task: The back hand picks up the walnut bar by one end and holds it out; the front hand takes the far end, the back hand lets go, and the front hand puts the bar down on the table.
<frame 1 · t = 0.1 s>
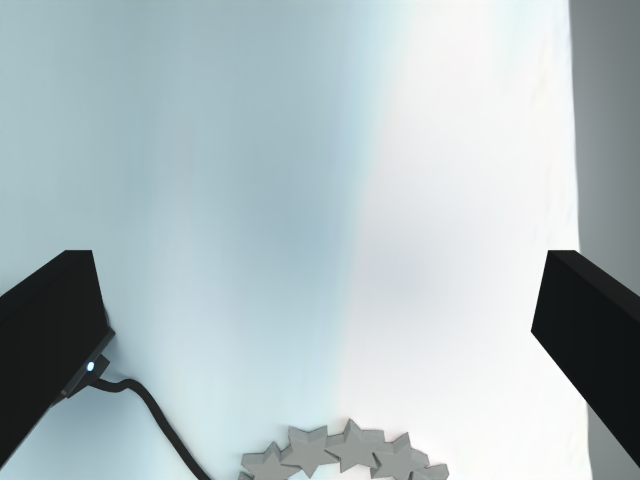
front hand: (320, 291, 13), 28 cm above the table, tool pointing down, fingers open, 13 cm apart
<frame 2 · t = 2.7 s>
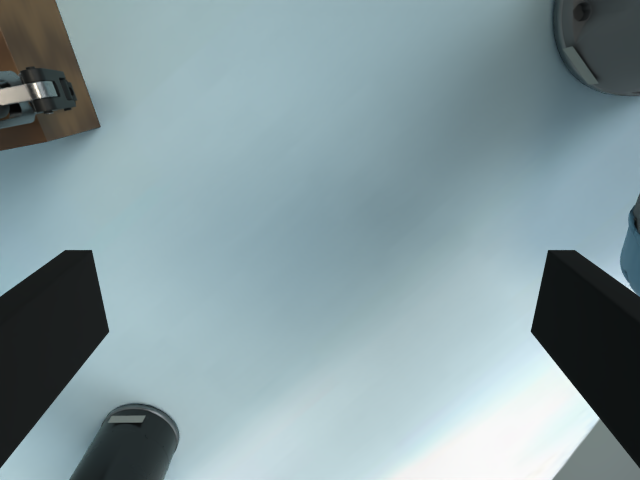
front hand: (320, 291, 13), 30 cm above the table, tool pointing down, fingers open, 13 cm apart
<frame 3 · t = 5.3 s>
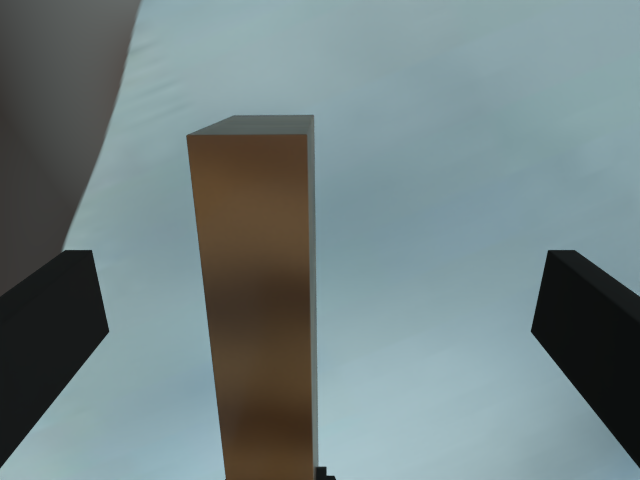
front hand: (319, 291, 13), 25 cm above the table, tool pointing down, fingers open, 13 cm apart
bar: (282, 316, 29), point 11 cm above the table, touching back hand
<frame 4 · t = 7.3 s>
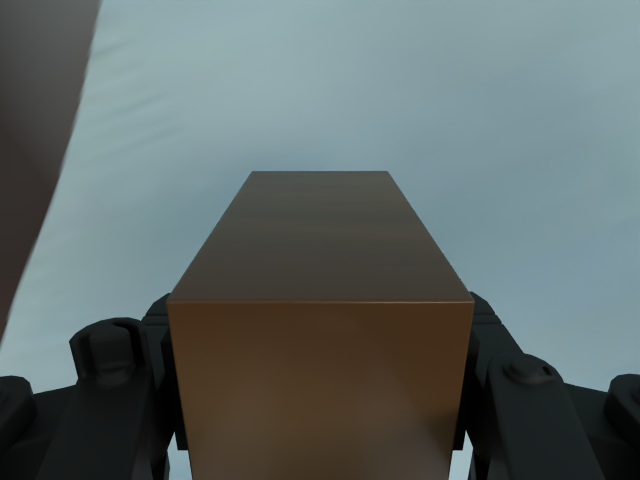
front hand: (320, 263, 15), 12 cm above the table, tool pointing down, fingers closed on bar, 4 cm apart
bar: (320, 460, 19), point 11 cm above the table, touching front hand, back hand
when the back hand's fingers open (15 cm above the table, at t = 8.1 s): bar stays where it is, held by the front hand.
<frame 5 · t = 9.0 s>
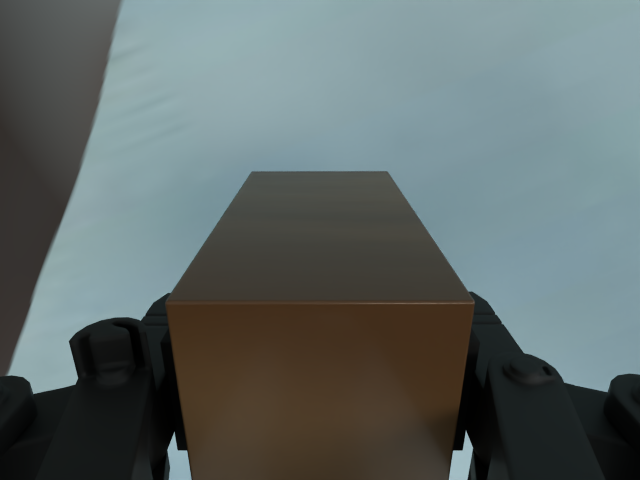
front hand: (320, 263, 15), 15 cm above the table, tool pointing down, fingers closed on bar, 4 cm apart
bar: (319, 460, 19), point 14 cm above the table, touching front hand
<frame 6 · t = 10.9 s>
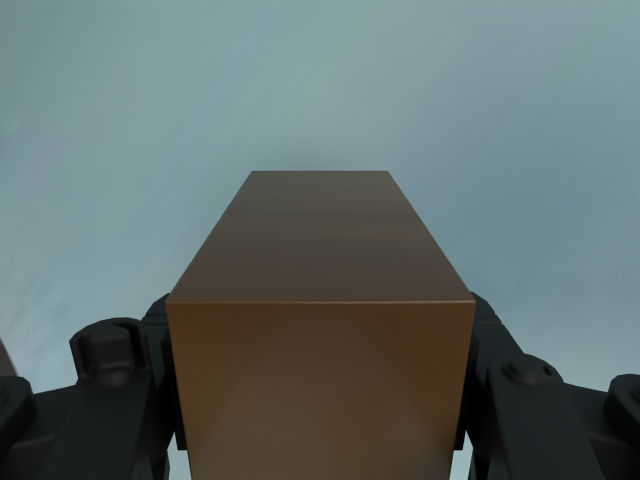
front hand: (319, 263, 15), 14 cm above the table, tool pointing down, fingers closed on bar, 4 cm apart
bar: (319, 460, 19), point 13 cm above the table, touching front hand
when the front hand's fingers open (2 cm above the table, at t = 12.3 s): bar drops 2 cm, on the table.
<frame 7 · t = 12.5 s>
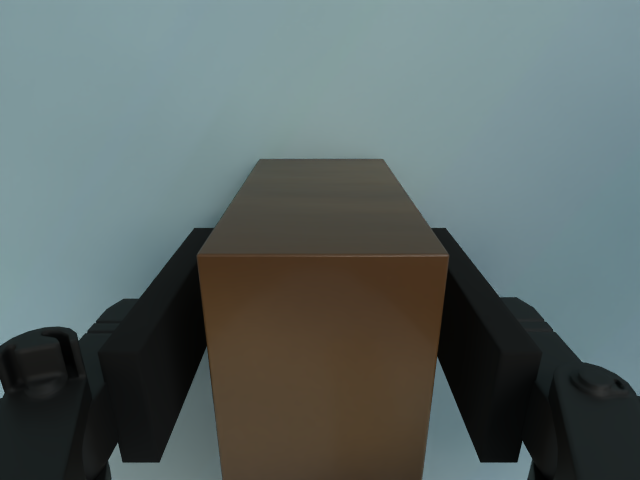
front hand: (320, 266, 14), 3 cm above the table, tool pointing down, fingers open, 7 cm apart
bar: (321, 430, 20), on the table
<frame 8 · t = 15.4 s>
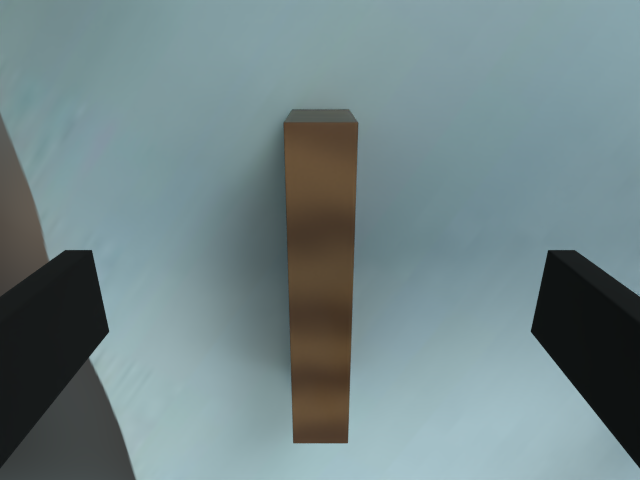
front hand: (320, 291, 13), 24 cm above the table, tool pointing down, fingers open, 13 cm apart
bar: (320, 258, 39), on the table
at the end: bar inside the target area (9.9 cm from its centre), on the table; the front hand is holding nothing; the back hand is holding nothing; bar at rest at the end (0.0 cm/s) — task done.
